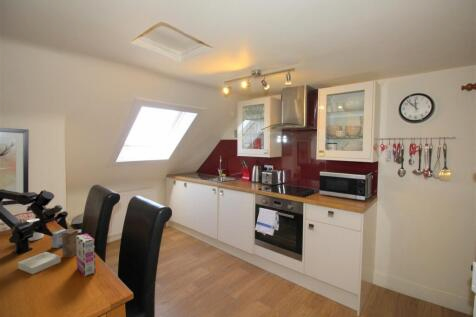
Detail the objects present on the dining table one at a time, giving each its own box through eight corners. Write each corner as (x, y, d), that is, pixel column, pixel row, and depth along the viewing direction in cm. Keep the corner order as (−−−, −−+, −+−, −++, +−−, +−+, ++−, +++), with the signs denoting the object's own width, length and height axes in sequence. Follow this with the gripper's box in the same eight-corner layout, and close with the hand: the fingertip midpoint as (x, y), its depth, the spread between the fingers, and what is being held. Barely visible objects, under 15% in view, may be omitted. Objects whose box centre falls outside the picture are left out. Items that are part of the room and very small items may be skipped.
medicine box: (57, 248, 135) (57, 233, 134) (51, 247, 136) (50, 233, 135) (70, 242, 143) (69, 228, 142) (64, 241, 143) (63, 228, 143)
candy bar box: (96, 272, 111) (95, 239, 110) (84, 277, 107) (82, 242, 106) (88, 264, 118) (87, 232, 117) (76, 268, 115) (75, 235, 113)
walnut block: (62, 256, 126) (61, 232, 125) (70, 252, 131) (69, 229, 130) (71, 257, 125) (70, 233, 124) (78, 252, 130) (77, 229, 129)
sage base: (18, 268, 114) (17, 262, 114) (46, 257, 125) (45, 251, 125) (32, 274, 109) (32, 268, 109) (60, 261, 120) (60, 256, 120)
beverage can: (29, 242, 142) (28, 223, 141) (24, 239, 146) (23, 220, 145) (45, 237, 149) (44, 219, 148) (40, 235, 153) (39, 217, 152)
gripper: (32, 206, 118) (53, 229, 117) (64, 197, 136) (82, 217, 136) (19, 220, 120) (40, 243, 119) (53, 210, 138) (71, 229, 137)
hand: (60, 232), depth 128 cm, fingers open, 9 cm apart
